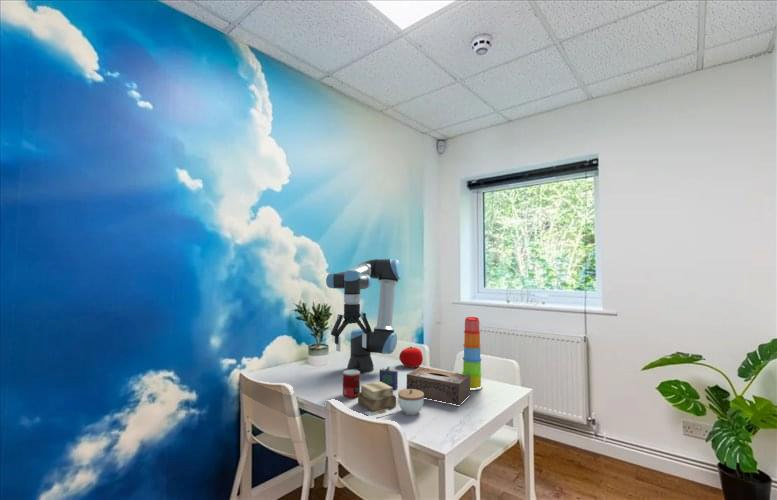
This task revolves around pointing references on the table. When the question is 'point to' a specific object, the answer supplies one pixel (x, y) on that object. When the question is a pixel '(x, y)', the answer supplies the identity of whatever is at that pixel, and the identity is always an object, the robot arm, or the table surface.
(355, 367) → the robot arm
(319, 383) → the table surface
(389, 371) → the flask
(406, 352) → the tomato
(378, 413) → the page
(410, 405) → the lidded jar
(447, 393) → the tissue box cover
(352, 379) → the canned food
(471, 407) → the table surface
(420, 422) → the table surface
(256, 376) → the table surface
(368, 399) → the folded towel stack
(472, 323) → the stacking cups
